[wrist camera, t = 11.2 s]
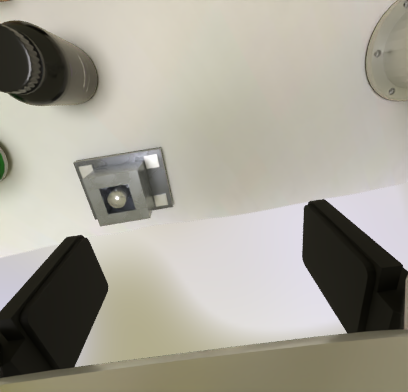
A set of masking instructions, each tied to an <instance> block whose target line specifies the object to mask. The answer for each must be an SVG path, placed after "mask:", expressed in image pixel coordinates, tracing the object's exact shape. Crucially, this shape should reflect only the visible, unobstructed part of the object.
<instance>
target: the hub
mask: <svg viewBox="0 0 408 392" xmlns="http://www.w3.org/2000/svg"><path fill="white" fill-rule="evenodd" d="M82 180H83V183H84V185H85V188H86V190H87V193H88V196H89V198H90V201H91V203H92V206H93V209H94V211H95V214H96V216H97V219H98V222H99V224H100V226H105V225H111V224H117V223H123V222H129V221H135V220H141V219H147V218H150V217H151V213H152V210H153V206H154V203H155V201H154V197H153V194H152V190H151V186H150V182H149V178H148V174H147V170H146V167H145V163H144V160H140V161H134V162H127V163H121V164H115V165H109V166H103V167H97V168H96V169H94V170H93V171H92V172H91V173H89V174H88V175H87V176H86V177H84V178H83V179H82ZM125 184H128V185H129V189H130V192H131V195H132V196H131V197H129V198H128V199H127V201H126V203H125V205H124V206H123V207H121V208H114V207H112V206H111V205H110V204H109V203H108V200H107V199H108V196H109V194H110V193H111V192H112V190H113V189H114V188H115V187H114V186H119V185H125Z"/></svg>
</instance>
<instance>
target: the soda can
mask: <svg viewBox="0 0 408 392" xmlns="http://www.w3.org/2000/svg"><path fill="white" fill-rule="evenodd" d="M7 171H8V161H7V158H6V156H5V153H4V152H3V150H2V149H1V147H0V181H1V180H2V179H3V178H4V177H5V176H6V173H7Z"/></svg>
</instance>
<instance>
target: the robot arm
mask: <svg viewBox="0 0 408 392" xmlns="http://www.w3.org/2000/svg"><path fill="white" fill-rule="evenodd" d="M366 70H367V76H368V79H369V82H370V84H371V86H372V87H373V89H374V90H375V92H377V93H378V94H379V95H380V96H382V97H384V98H386V99H389V100H394V101H406V100H408V0H398V1H397V2H396V3H394V4H393V5H392V6H391V7H390V8H389V10H388V11H387V12H386V13H385V14H384V15H383V17H382V18H381V20H380V21H379V23H378V24H377V26H376V28H375V30H374V32H373V35H372V37H371V40H370V43H369V46H368V51H367V57H366ZM302 257H303V262H304V264H305V266H306V268H307V269H308V271H309V273H310V274H311V276H312V277H313V279H314V280H315V282H316V284H317V285H318V287H319V289H320V290H321V292H322V293H323V295H324V297H325V298H326V300H327V301H328V303H329V305H330V306H331V308H332V309H333V311H334V313H335V314H336V316H337V317H338V319H339V320H340V322H341V324H342V325H343V327H344V328H345V330H346V332H347V333H348V334H338V335H329V336H319V337H310V338H302V339H293V340H286V341H277V342H269V343H260V344H252V345H244V346H236V347H228V348H220V349H212V350H204V351H197V352H188V353H180V354H172V355H165V356H158V357H149V358H141V359H134V360H126V361H118V362H111V363H103V364H96V365H88V366H81V367H75V364H76V362H77V360H78V358H79V355H80V353H81V351H82V349H83V346H84V344H85V342H86V339H87V337H88V335H89V333H90V330H91V328H92V326H93V324H94V321H95V319H96V317H97V314H98V312H99V310H100V308H101V306H102V303H103V301H104V299H105V297H106V294H107V292H108V283H107V281H106V279H105V276H104V274H103V272H102V270H101V267H100V265H99V263H98V260H97V258H96V256H95V253H94V251H93V249H92V246H91V244H90V242H89V240H88V239H87V238H84V236H82V235H78V236H71V237H67V238H65V239H64V241H63V242H62V243H61V244H60V245H59V246H58V247H57V248H56V250H55V251H54V252H53V253H52V254H51V255H50V256H49V257H48V259H47V260H46V261H45V262H44V263H43V264H42V265H41V266H40V268H39V269H38V270H37V271H36V272H35V273H34V274H33V276H32V277H31V278H30V279H29V280H28V281H27V282H26V283H25V284H24V286H23V287H22V288H21V289H20V290H19V291H18V292H17V293H16V294H15V296H14V297H13V298H12V299H11V300H10V301H9V302H8V303H7V305H6V306H5V307H4V308H3V309H2V310H1V311H0V392H408V271H407V270H405V269H404V268H403V265H402V264H401V263H400V262H399V261H398V260H396V259H395V258H394V257H393V256H392V255H390V254H389V253H388V252H387V251H386V250H384V249H383V248H382V247H381V246H380V245H378V244H377V243H376V242H375V241H373V239H371V238H370V237H369V236H368V235H367V234H365V233H364V232H363V231H362V230H361V229H359V228H358V227H357V226H356V225H355V224H353V223H352V222H351V221H350V220H349V219H347V218H346V217H345V216H344V215H343V214H342V213H340V212H339V211H338V210H337V209H336V208H334V207H333V206H332V205H331V204H330V203H328V202H327V201H326V200H324V199H322V200H315V201H310V202H309V203H308V205H306V206H305V207H304V223H303V251H302Z"/></svg>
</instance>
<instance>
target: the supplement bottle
mask: <svg viewBox="0 0 408 392" xmlns="http://www.w3.org/2000/svg"><path fill="white" fill-rule="evenodd" d="M96 88H97V73H96V69H95V66H94V64H93V62H92V61H91V59H90V58H89V56H88V55H87V54H86V53H85V52H84V51H83V50H81V49H80V48H79V47H77V46H75V45H73V44H72V43H70V42H68V41H66V40H64V39H62V38H60V37H58V36H56V35H54V34H52V33H50V32H48V31H46V30H44V29H42V28H40V27H38V26H36V25H34V24H31V23H28V22H24V21H8V22H4V23H2V24H0V92H4V93H8V94H9V95H10V96H12V97H13V98H15V99H17V100H19V101H21V102H23V103H26V104H30V105H36V106H55V105H77V104H82V103H84V102H86V101H88V100H89V99H90V98H91V97H92V96H93V94H94V93H95V91H96Z"/></svg>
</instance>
